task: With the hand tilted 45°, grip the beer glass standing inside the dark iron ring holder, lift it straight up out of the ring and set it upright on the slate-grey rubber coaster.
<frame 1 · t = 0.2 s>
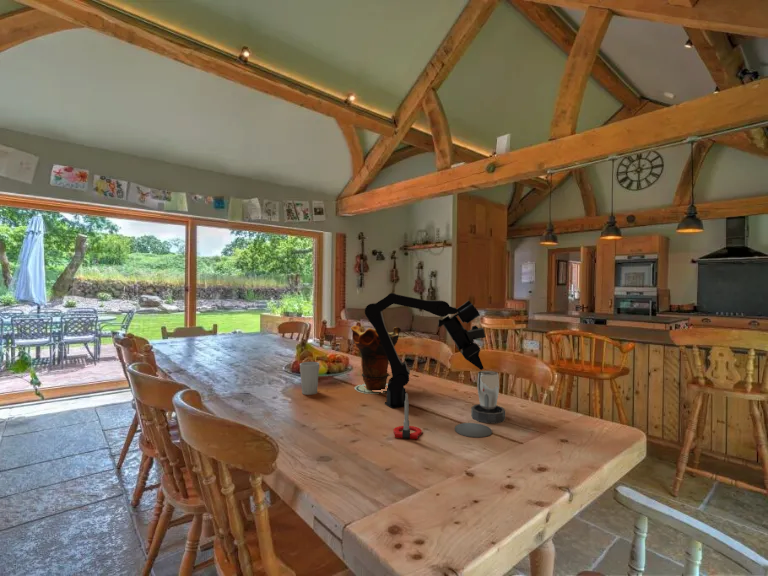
hand: (480, 366, 142), 15 cm above the table, tool tilted 35°, fingers open, 9 cm apart
decorative vase: (374, 388, 167), on the table
beer glass: (488, 418, 130), resting in ring holder
ring holder: (488, 417, 130), on the table
cup: (309, 393, 161), on the table
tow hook: (407, 434, 116), on the table
coaster: (473, 430, 118), on the table
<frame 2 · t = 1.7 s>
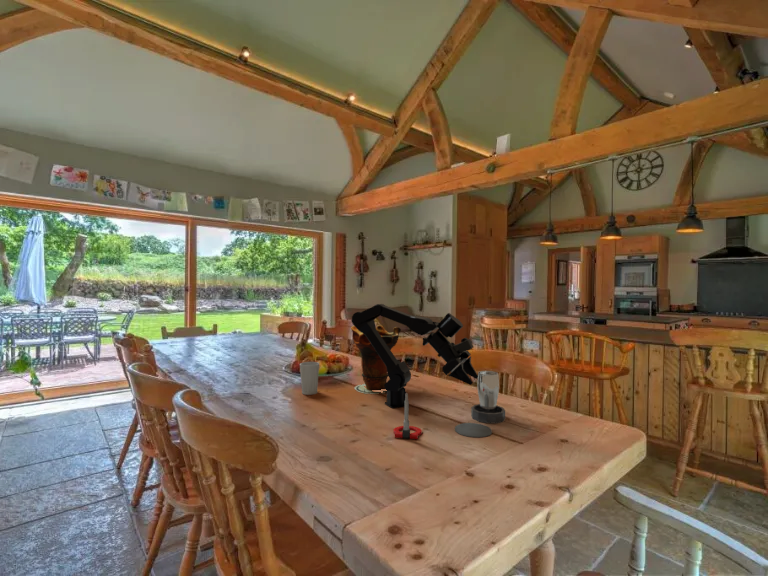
hand: (474, 380, 132), 12 cm above the table, tool tilted 45°, fingers open, 9 cm apart
nothing on the table moved.
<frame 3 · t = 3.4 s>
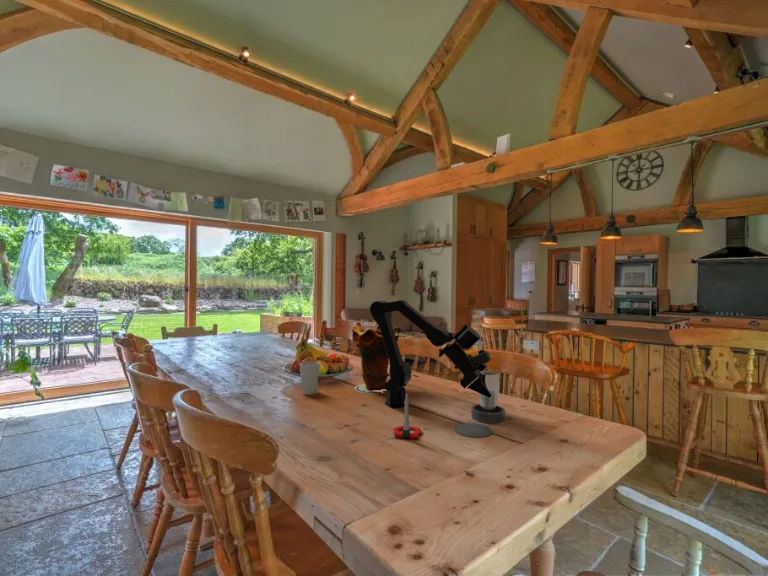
hand: (492, 393, 129), 8 cm above the table, tool tilted 45°, fingers closed on beer glass, 7 cm apart
beer glass: (488, 418, 130), resting in ring holder, touching gripper
everything else where it was.
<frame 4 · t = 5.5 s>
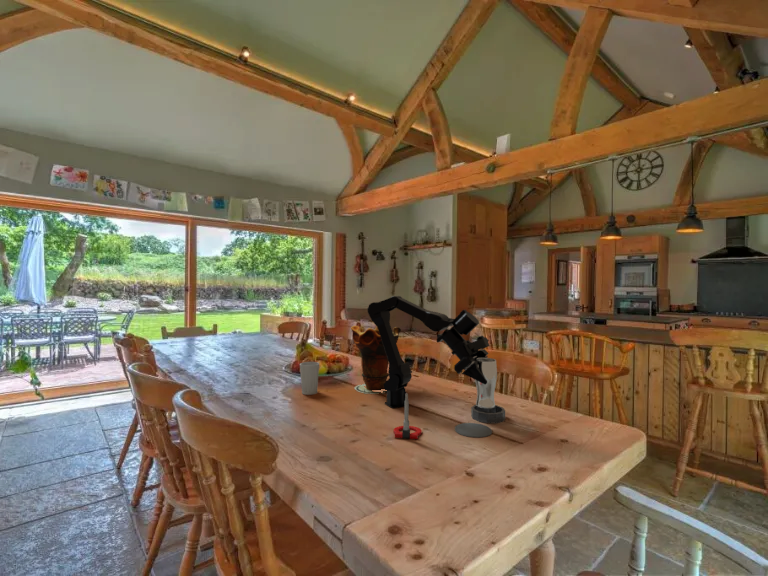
hand: (489, 381, 125), 13 cm above the table, tool tilted 45°, fingers closed on beer glass, 7 cm apart
beer glass: (485, 406, 126), point 5 cm above the table, touching gripper
everything else where it was.
when the fingers open (9 cm above the table, at t = 7.6 s): beer glass stays where it is, resting on coaster.
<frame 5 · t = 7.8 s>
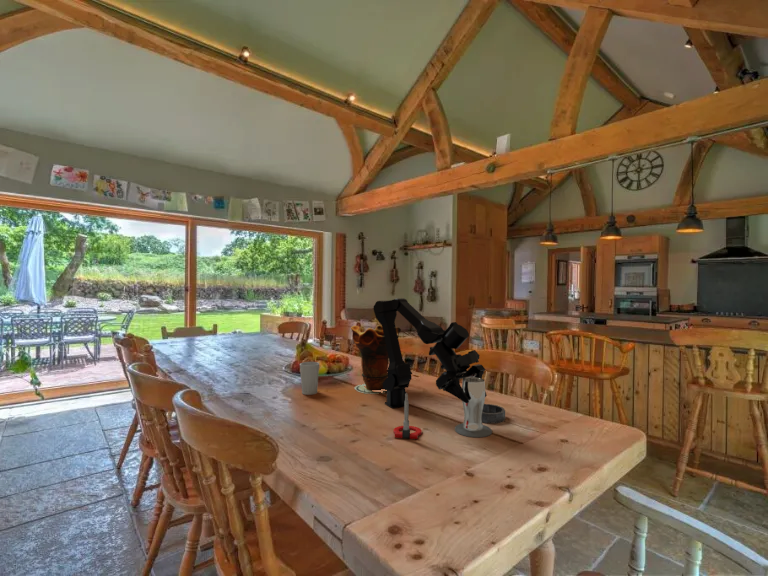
hand: (477, 399, 117), 10 cm above the table, tool tilted 45°, fingers open, 9 cm apart
beer glass: (472, 429, 118), resting on coaster
everything else where it was.
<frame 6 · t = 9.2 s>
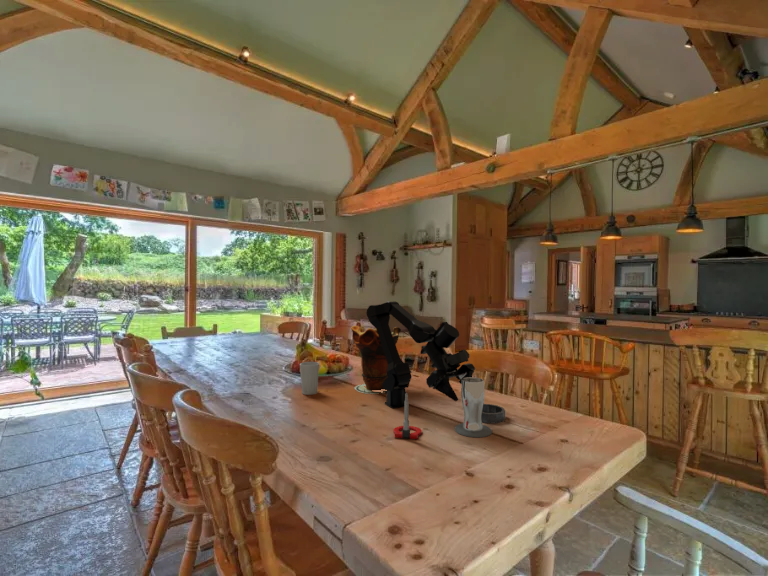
hand: (466, 397, 120), 9 cm above the table, tool tilted 45°, fingers open, 9 cm apart
nothing on the table moved.
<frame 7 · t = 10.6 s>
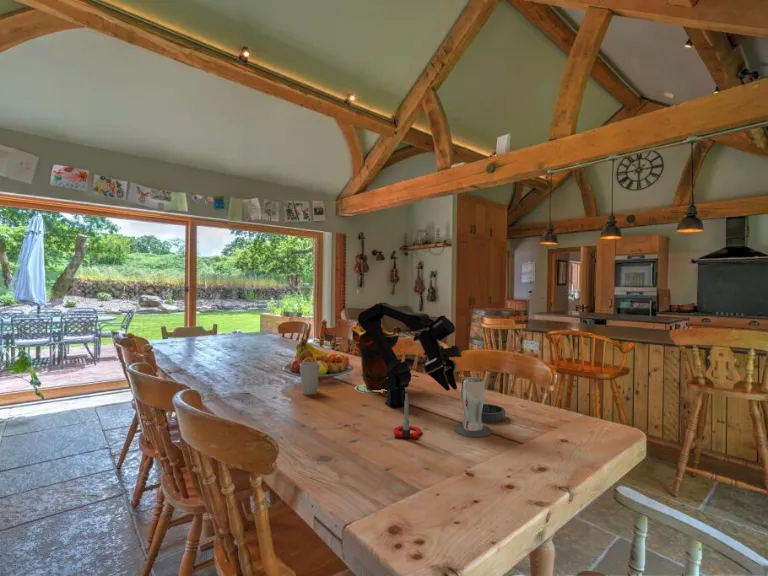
hand: (452, 389, 127), 10 cm above the table, tool tilted 35°, fingers open, 9 cm apart
nothing on the table moved.
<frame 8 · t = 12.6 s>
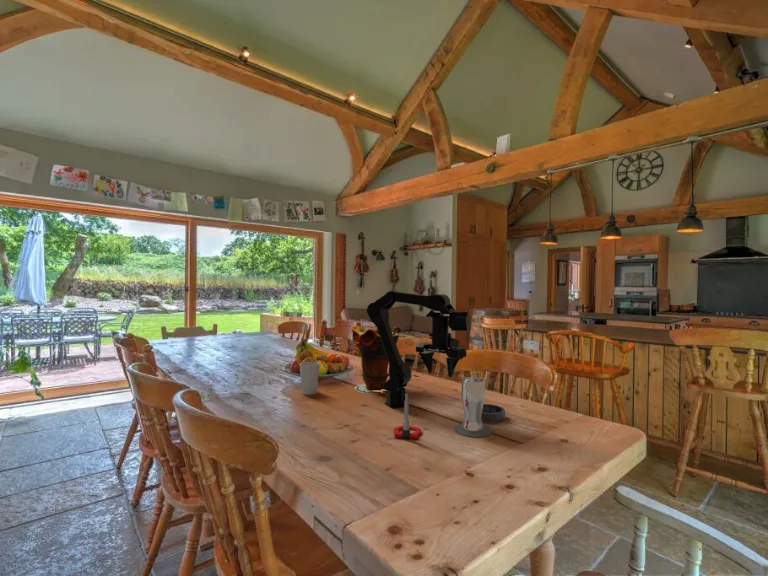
hand: (440, 374, 136), 13 cm above the table, tool pointing down, fingers open, 9 cm apart
nothing on the table moved.
at the end: beer glass 0.3 cm from the coaster (horizontally); beer glass tilted 0°; the gripper is holding nothing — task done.
